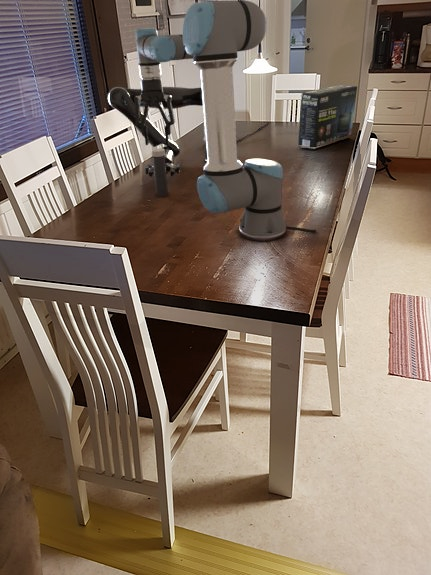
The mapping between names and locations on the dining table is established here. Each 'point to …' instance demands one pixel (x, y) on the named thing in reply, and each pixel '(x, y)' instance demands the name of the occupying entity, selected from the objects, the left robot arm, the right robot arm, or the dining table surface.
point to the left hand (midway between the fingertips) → (161, 174)
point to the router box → (326, 115)
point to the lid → (158, 152)
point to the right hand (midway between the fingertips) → (157, 144)
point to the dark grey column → (160, 175)
